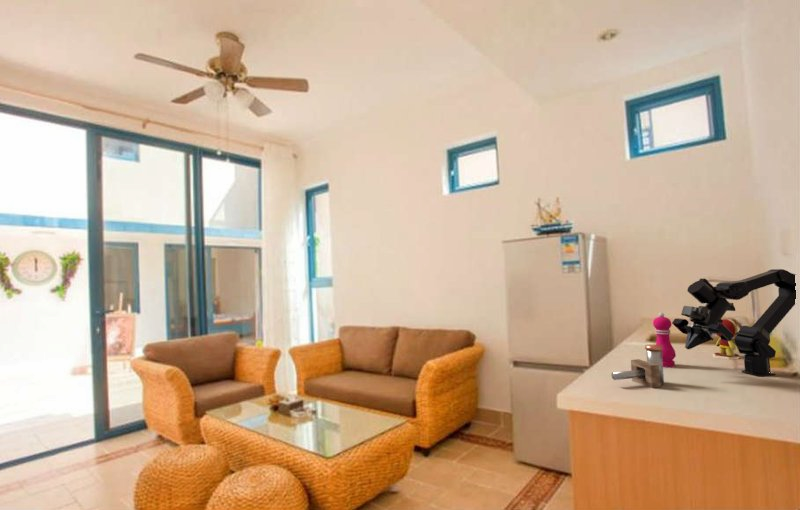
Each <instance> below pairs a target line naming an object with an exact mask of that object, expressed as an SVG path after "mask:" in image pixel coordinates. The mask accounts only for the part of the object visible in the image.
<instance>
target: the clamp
mask: <svg viewBox="0 0 800 510" xmlns="http://www.w3.org/2000/svg"><path fill="white" fill-rule="evenodd" d="M644 350H645V353H646V361H647V362H650V363H654V364H657V365H659V373H660V385H664V384H665V377H664V367H663V360H662V350H663V346H661V345H656V344H652V343H651V344H650V343H649V344H644ZM641 377H645V378H646V375H645V369H643V370H632V371H631V370H625V371H615V372H614V371H613V372H611V378H612V379H613V381H619V380H627V379H632V378H641Z"/></svg>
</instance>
